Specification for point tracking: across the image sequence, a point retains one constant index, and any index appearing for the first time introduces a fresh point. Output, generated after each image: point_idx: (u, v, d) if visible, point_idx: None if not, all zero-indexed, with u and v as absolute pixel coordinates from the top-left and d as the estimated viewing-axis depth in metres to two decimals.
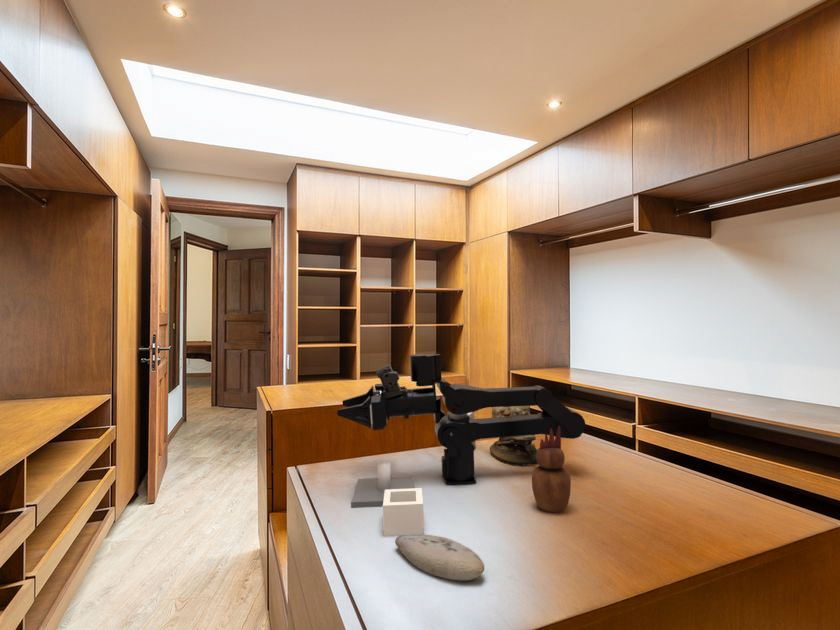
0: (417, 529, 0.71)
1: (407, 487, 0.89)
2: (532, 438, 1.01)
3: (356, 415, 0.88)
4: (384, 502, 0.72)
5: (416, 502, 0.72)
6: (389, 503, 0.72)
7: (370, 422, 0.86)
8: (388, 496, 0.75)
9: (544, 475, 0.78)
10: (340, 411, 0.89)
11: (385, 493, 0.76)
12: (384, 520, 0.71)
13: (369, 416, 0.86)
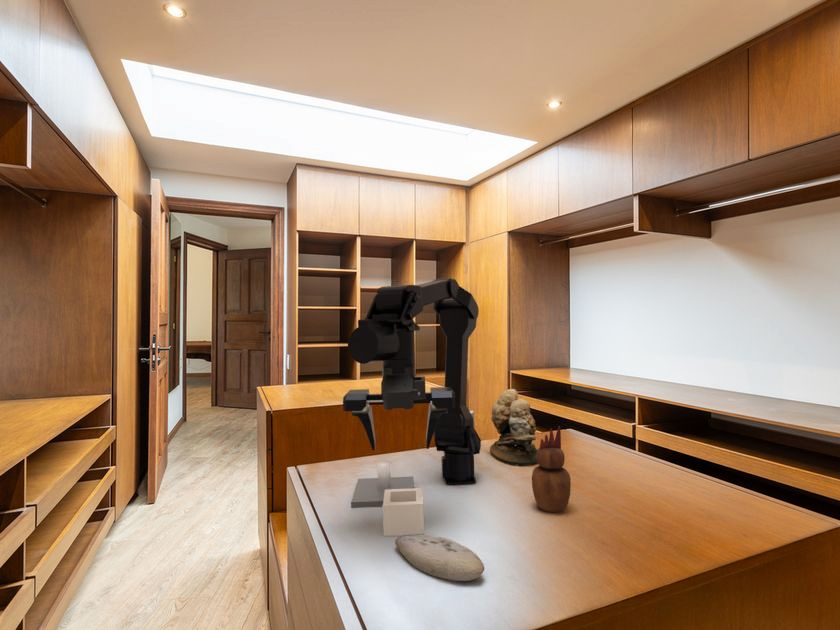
0: (417, 529, 0.71)
1: (407, 487, 0.89)
2: (532, 438, 1.01)
3: None
4: (384, 502, 0.72)
5: (416, 502, 0.72)
6: (389, 503, 0.72)
7: None
8: (388, 496, 0.75)
9: (544, 475, 0.78)
10: (429, 444, 0.75)
11: (385, 493, 0.76)
12: (384, 520, 0.71)
13: None
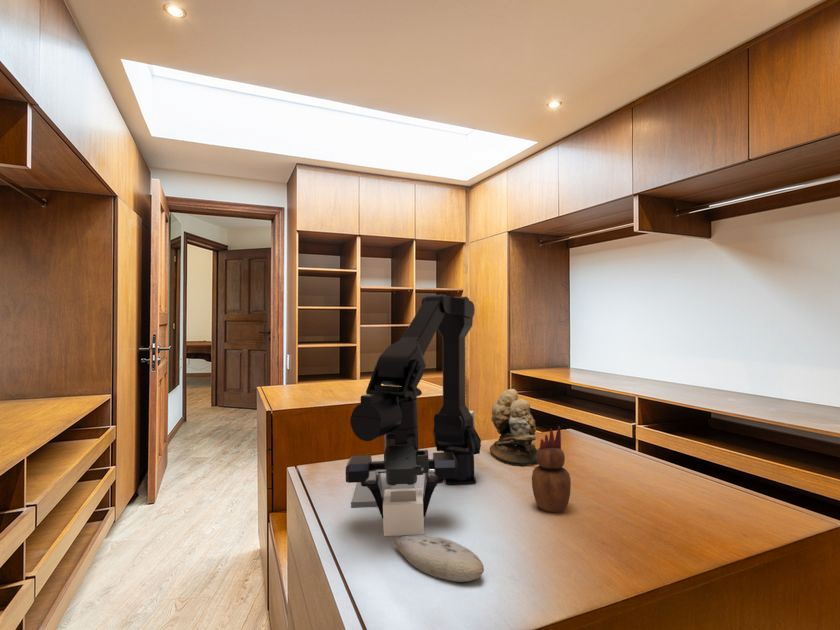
0: (417, 529, 0.71)
1: (407, 487, 0.89)
2: (532, 438, 1.01)
3: None
4: (384, 502, 0.72)
5: (416, 502, 0.72)
6: (389, 503, 0.72)
7: None
8: (388, 496, 0.75)
9: (544, 475, 0.78)
10: None
11: (385, 493, 0.76)
12: (384, 520, 0.71)
13: None
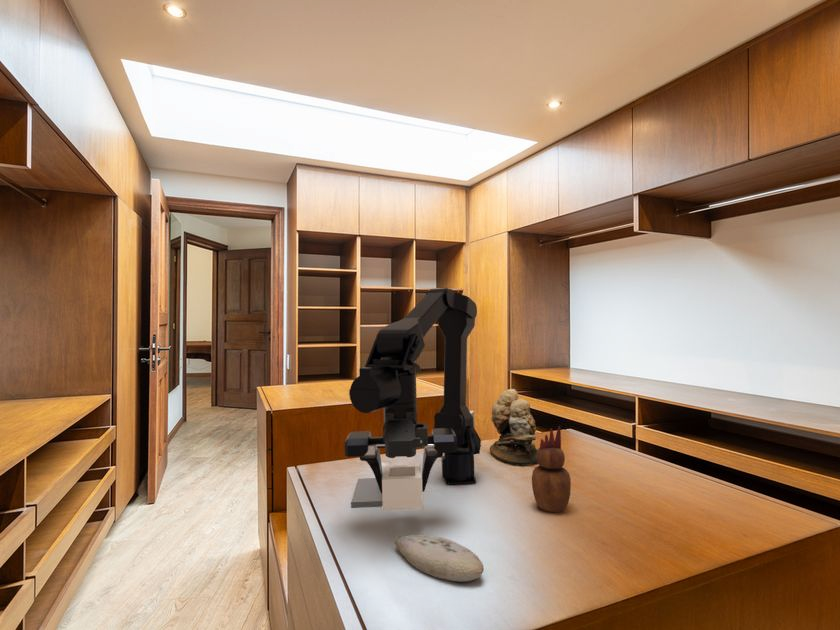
0: (416, 503, 0.71)
1: None
2: (532, 438, 1.01)
3: None
4: (383, 477, 0.72)
5: (415, 476, 0.72)
6: (388, 477, 0.72)
7: None
8: (387, 471, 0.75)
9: (544, 475, 0.78)
10: None
11: (384, 469, 0.76)
12: (383, 494, 0.71)
13: None
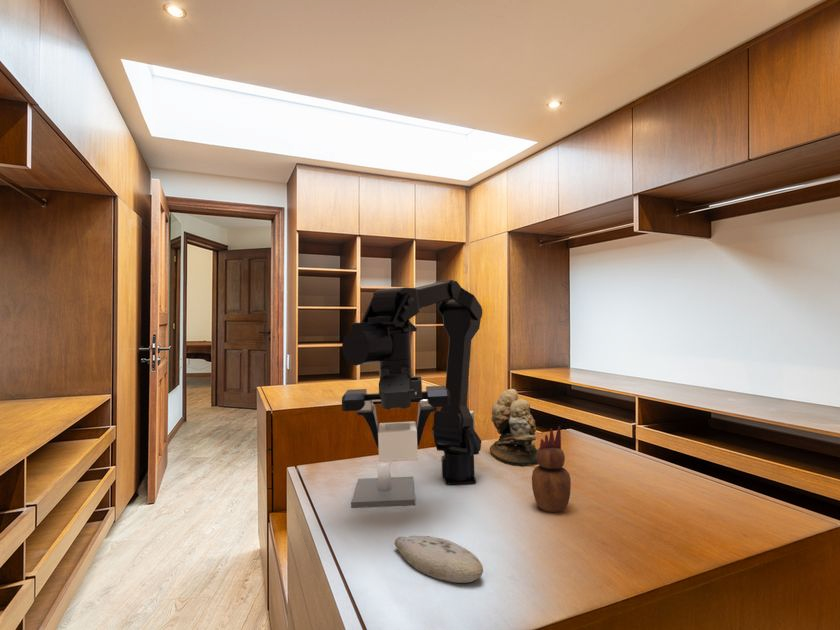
0: (411, 455, 0.74)
1: (407, 487, 0.89)
2: (532, 438, 1.01)
3: None
4: (379, 430, 0.75)
5: (410, 430, 0.75)
6: (384, 431, 0.75)
7: None
8: (383, 427, 0.78)
9: (544, 475, 0.78)
10: (419, 441, 0.77)
11: (380, 425, 0.79)
12: (379, 447, 0.74)
13: None
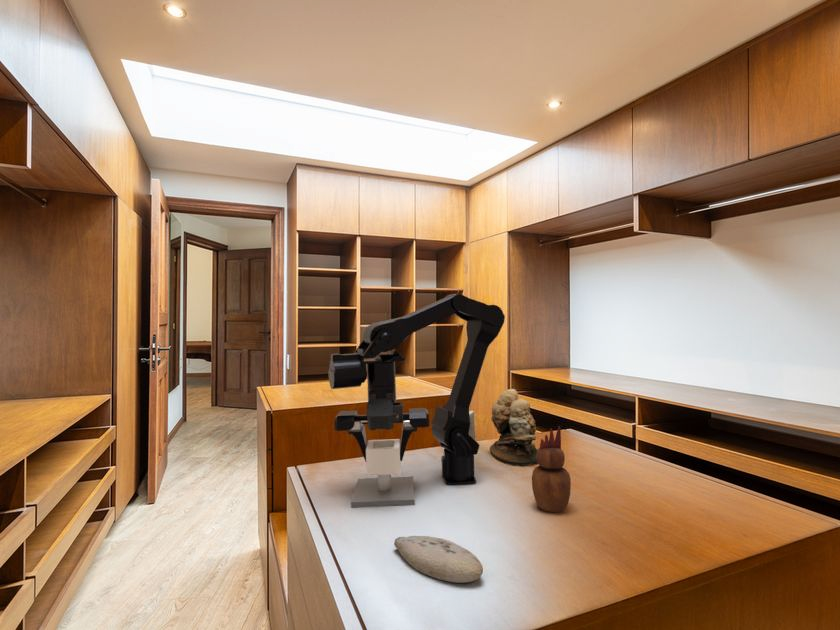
0: (394, 469, 0.85)
1: (407, 487, 0.89)
2: (532, 438, 1.01)
3: None
4: (367, 447, 0.86)
5: (394, 447, 0.86)
6: (371, 448, 0.86)
7: None
8: (371, 444, 0.89)
9: (544, 475, 0.78)
10: None
11: (368, 442, 0.90)
12: (367, 462, 0.85)
13: None
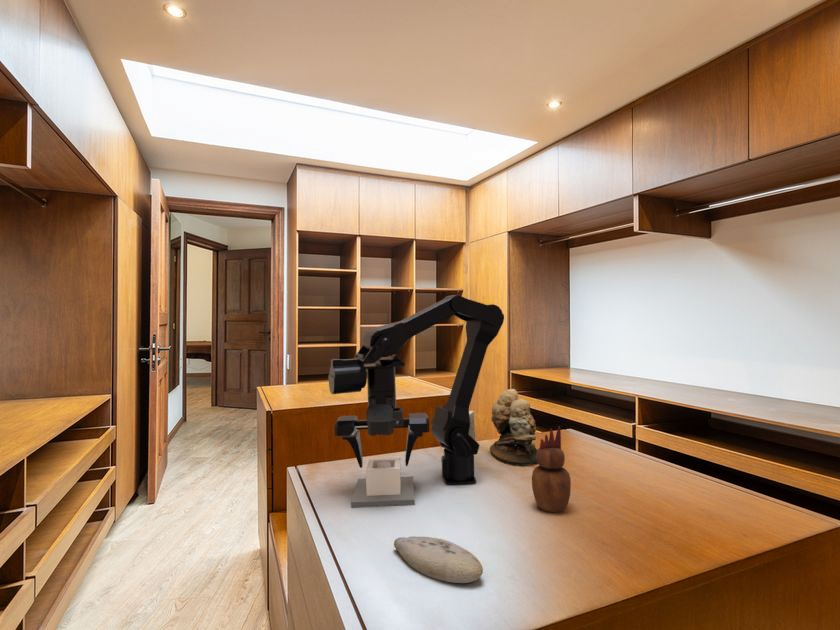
0: (395, 490, 0.85)
1: (407, 487, 0.89)
2: (532, 438, 1.01)
3: None
4: (367, 468, 0.86)
5: (394, 468, 0.86)
6: (371, 468, 0.86)
7: None
8: (371, 463, 0.89)
9: (544, 475, 0.78)
10: None
11: (369, 461, 0.90)
12: (367, 482, 0.85)
13: None
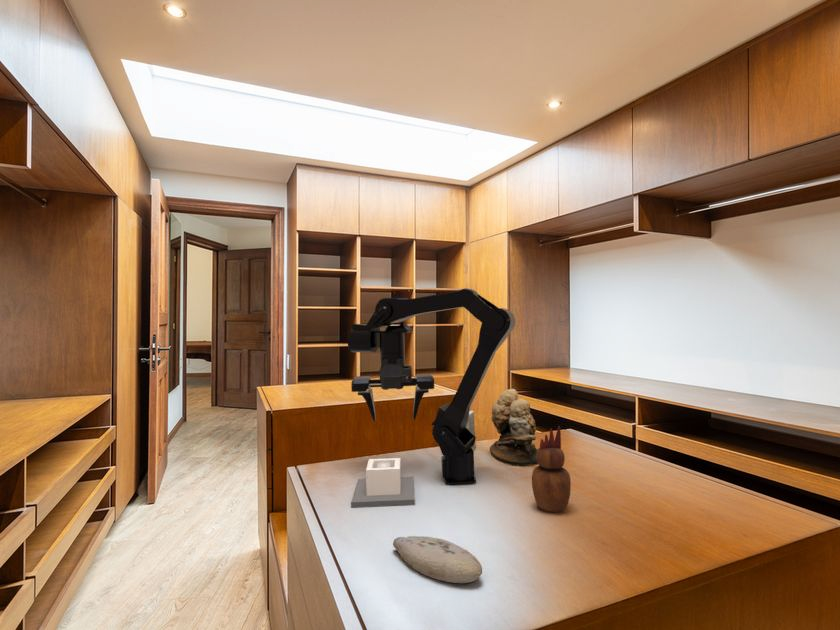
0: (395, 490, 0.85)
1: (407, 487, 0.89)
2: (532, 438, 1.01)
3: None
4: (367, 468, 0.86)
5: (394, 468, 0.86)
6: (371, 468, 0.86)
7: None
8: (371, 463, 0.89)
9: (544, 475, 0.78)
10: (415, 416, 1.01)
11: (369, 461, 0.90)
12: (367, 482, 0.85)
13: None
